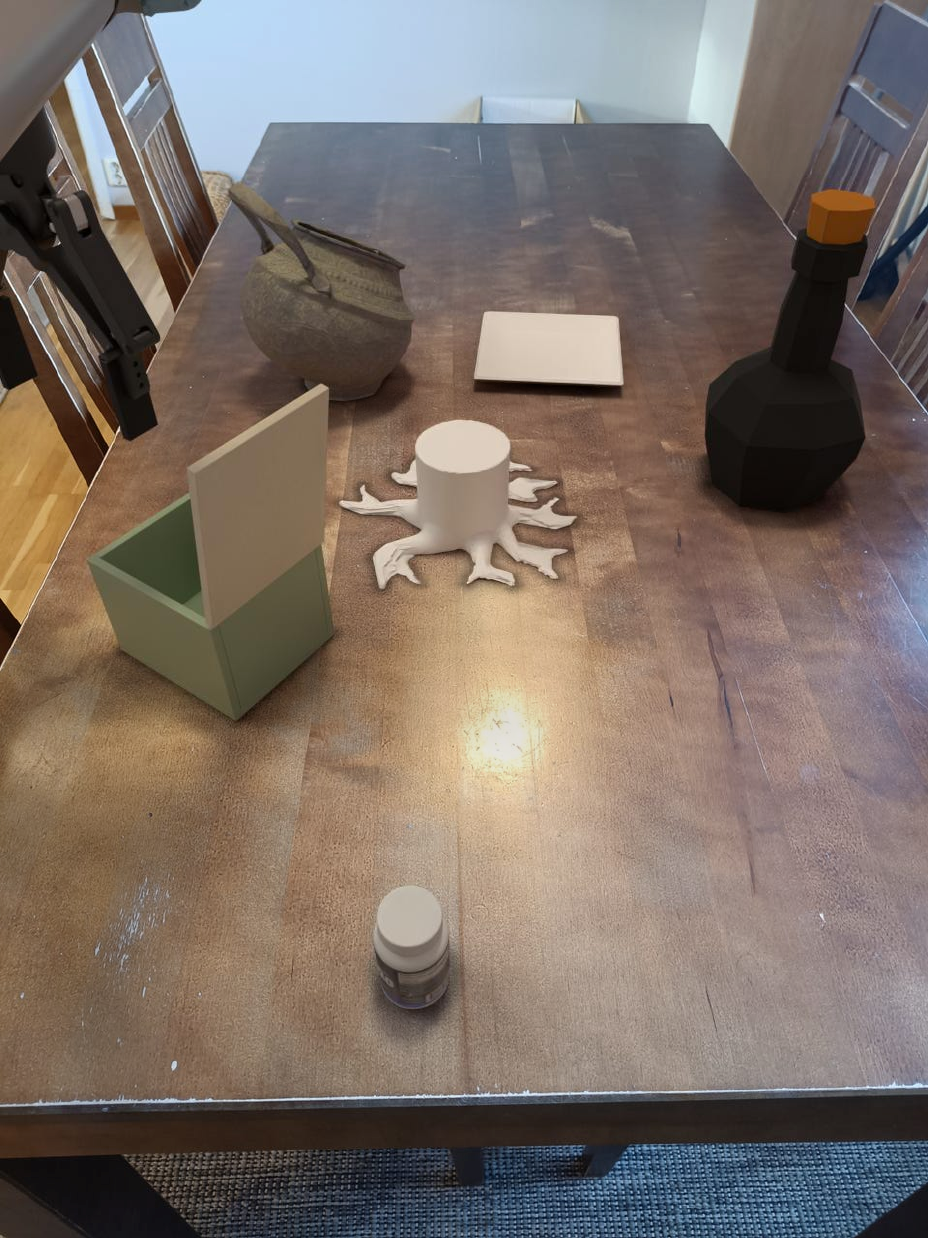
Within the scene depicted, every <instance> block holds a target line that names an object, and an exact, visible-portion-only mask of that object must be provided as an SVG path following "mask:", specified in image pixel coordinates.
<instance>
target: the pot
mask: <svg viewBox="0 0 928 1238" xmlns="http://www.w3.org/2000/svg"><path fill="white" fill-rule="evenodd" d="M227 196H228V198H229V199H230V201H231V202H232V203H233V204H234V205H235V206H236V207H237V208H238V210H239V211H240V212H241V213H242V214H243V215H244V217H245V218H246V219H247V221H248V222H249V223H250V224H251V226H252V227H253V228H254V230H255V232H256V233H257V234H258V236H259V239H260V250H261V252H262V254H260V255H256V256H254V257H253V260H252V263H251V267H250V270H249V271H248V273H247V274H246V276H245V277H244V279H243V283H242V287H241V293H240V310H241V314H242V318H243V321H244V326H245V328H246V331H247V332H248V334H249V337H250V339H251V340H252V342H253V343H254V344H255V345H256V347H257V348H258V350H260V352H261V353H262V354H263V355H264V356H265V357H267V358H268V359H269V360H270V361H271V362H272V363H274V364H275V365H277V366H278V367H280V368H281V369H283V370H285V371H287V372H288V373H289V374H291V375H294V376H296V377H299V378H301V379H303V380H304V385H305V386H306V388H307V389H308V391H310V390H311V389H313V388H314V387H316V386H318V385H319V384H323V385H325V386H326V387H328V388H329V401H339V402H346V401H352V400H353V401H354V400H360V399H364V398H366V397H370V396H374V395H375V393H377V391H378V390H379V388H380V387H381V384H382V383H383V381H384V379H385V378H386V377H387V376H388V374H390V373H391V372H392V371H393V370H394V368H395V367H396V366H397V365H398V363H399V362H400V360H401V359H402V358H403V356H404V355H405V354H406V352H407V350H408V349H409V345H410V343H411V341H412V335H413V334H412V333H413V328H412V324H413V323H414V321H415V320H416V318H415V317H416V316H415V314H414V313H413V312H412V311H411V310H410V309H409V307H408V305H407V303H406V302H405V298H404V293H403V289H402V283H401V275H400V272H401V271H404V270H405V269H406V263H404V262H402V261H401V260H399V259H398V258H396V257H394V256H392V255H390V254H389V253H387V252H386V251H385V250H382V249H379V248H375V247H374V246H371V245H369V244H368V243H366V242H363V241H361V240H358V239H355V238H353V237H349V236H345V235H341V234H339V233H335V232H333V231H331V230H328V229H326V228H324V227H321V226H319V225H317V224H314V223H312V222H305V221H303V220H301V219H298V218H296V219H291V220H290V224H291V226H292V229H291V228H290V226H289V225H288V223H287V222H286V221H285V220H284V218H283V217H282V215H281V214H280V212H278V210H276V209H275V207H273V206H271V204H269V203H268V202H267V201H266V200H265V199H264V198H262V197H261V196H260V195H258V193H256V191H254V190H253V189H251V188H250V187H249V186H247V185H245V184H244V183H242V182H241V181H239V180H238V181H237V182H235V183H234V184H233V185H231V186H230V187H229V188H228V189H227ZM262 223H263V224H265V225H266V226H267V227H268V228H269V229H271V230H272V231H273V232H274V233H275V234H276V235H277V237H278V238H279V239H280V240H281V241H282V242H280V243H277V244H274V243H273V241H272V239H271V238H270V236H269V234H268V232H267V231H266V229H265V227H264V226H263V224H262Z"/></svg>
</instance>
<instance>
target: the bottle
mask: <svg viewBox="0 0 928 1238" xmlns="http://www.w3.org/2000/svg"><path fill="white" fill-rule="evenodd" d="M875 201H876V200H875V198H874V197H871V196H868V195H865V194H862V193H859V192H856V191H849V190H841V189H834V188H830V189H826V190H823V191H822V190H821V191H819V192H815V193H812V194H811V196H810V203H809V209H808V217H807V225H806V228H802V229H798V230H797V235H796V239H795V242H794V246H793V249H792V250H793V251H792V255H791V259H790V266H791V267H790V268H791V270H793V271H795V273H794V275H793V277H792V280H791V282H790V284H789V286H788V289H787V291H786V294H785V296H784V298H783V301H782V303H781V306H780V309H779V314H778V317H777V320H776V321H777V322H776V325H775V329H774V333H773V336H772V341H771V345H770V346H769V347H767V348H765V349H762V350H760V351H757V352H755V353H752V354H750V355H747V356H745V357H742V358H739V359H737V360H734V362H733V363H732V364H731V365H730V366H728V367H727V368H726V369H725V370H724V371H723V372H722V373H721V374H719V375H718V376H717V377H716V378H715V379H714V380H713V381H712V382H711V383H709V384H708V390H707V397H706V402H705V413H704V416H705V417H704V442H705V448H706V455H707V461H708V468H709V475H710V483H711V485H712V486H713V487H714V488H715V489H717V490H718V491H720V492H721V493H722V494H724V495H725V496H726V497H727V498H729V499H730V500H731V501H733V502H734V503H735V504H737V505H738V506H740V507H746V508H752V509H759V510H766V511H772V512H779V513H787V512H790V511H792V510H795V509H798V508H800V507H802V506H806V505H807V504H811V503H813V502H816V501H818V500H821V499H822V497H823V496H824V495H825V494H826V493H827V492H828V491H829V490H830V488H832V486H833V485H834V484H835V483H836V482H837V481H838V480H839V479H840V478H841V476H842V475H843V474H844V473H845V472H846V471H847V470H848V469H849V468H850V467H851V465H852V464H854V462H856V460H857V459H858V457H859V454H860V452H861V449H862V447H863V444H864V443H865V440H866V430H865V424H864V416H863V411H862V410H863V409H862V402H861V398H860V394H859V390H858V387H857V383H856V379H855V376H854V372H853V369H852V368H850V367H847V366H845V365H843V364H841V363H840V362H838V361H836V360H834V359H832V357H833V354H834V350H835V347H836V344H837V341H838V338H839V335H840V331H841V327H842V324H843V321H844V315H845V306H846V300H847V293H848V287H849V279H851V278H857V277H859V276H860V274H861V270H862V267H863V264H864V261H865V257H866V254H867V252H868V248H869V243H868V236H867V235H866V234H865V232H866V230H867V228H868V226H869V223H870V221H871V219H872V216H873V214H874V212H875V210H876V202H875Z"/></svg>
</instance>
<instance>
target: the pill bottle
mask: <svg viewBox="0 0 928 1238" xmlns="http://www.w3.org/2000/svg"><path fill="white" fill-rule="evenodd" d="M377 907H378V908H377V911H376V921H375V924H374V928H373V932H372V942H373V949H374V954H375V961H376V968H377V974H378V980H379V985H380V987H381V991H382V992H383V994H384V996H385V997H386V998H387V999H388V1000H389V1001H390V1002H392V1004H394V1005H396V1006H398V1007H399V1008H402V1009H407V1010H419V1009H423V1008H427V1007H429V1006H431V1005H432V1004H434V1003H436V1002H437V1001H438V1000H439V999H440V998H441V997H442V996H443V994H444V993H445V991H446V990H447V988H448V984H449V981H450V976H451V975H450V974H451V961H450V959H451V957H450V930H449V925H448V922H447V919H446V916H445V915H444V913H443V909H442V906H441V903H440V901H439V900H438V898H437V897H436V896H435V894H433V893H432V892H431V891H430V890H428V889H426V888H424V887H422V886H417V885H403V886H400V887H397V888H394V889H393V890H391V891H390V892H388V893H387V894H386V895H385V896H384V897H383V899H382V900H381V901H380V903H379V905H378V906H377Z"/></svg>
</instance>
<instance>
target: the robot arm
mask: <svg viewBox="0 0 928 1238" xmlns="http://www.w3.org/2000/svg"><path fill="white" fill-rule="evenodd" d="M201 2H202V0H0V293H2V292H4V291H7V290H8V286H6V284H5V283H4V282H3V278H4V277H3V276H4V272H5V268H6V263H7V259H8V255H9V252H10V251H12V252H14V253H16V254H17V255H18V256H20V257H24V258H26V260H27V261H28V262H29V264H30V265H31V266H32V268H33V269H35V270H36V271H38V272H43V273H45V274H46V275H47V277H48V278H49V279H50V281H52V283H53V285H55V287H56V289H58V291H59V292H60V293H61V295H62V296H63V298H64V300H66V302H67V303H68V304H69V306H70V307H71V308H72V310H73V311H74V312H75V314H76V315H77V316H78V318H79V319H80V320H81V322H82V323H83V324H84V326H85V327H86V328H87V330H88V331H89V332H90V334H91V335H92V336H93V337H94V339H95V341H97V343H98V344H99V346H100V347H101V349H102V350H103V351H104V352H103V353H100V354H98V355H97V357H98V361H99V364H100V368H101V371H102V374H103V377H104V380H105V383H106V386H107V390H108V393H109V396H110V400H111V404H112V406H113V410H114V413H115V416H116V419H117V423H118V426H119V429H120V432H121V436H122V439H123V440H126V441H128V442H132V441H134V440H136V439H137V438H139V437H140V436H142V435H143V434H145V433H147V432H149V431H150V430H152V429H154V428H155V427H158V425H159V422H158V418H157V415H156V411H155V408H154V407H155V406H154V404H153V401H152V397H151V383H150V379H149V376H148V373H147V369H146V365H145V361H144V357H143V353H142V352H143V351H146V350H147V349H149V348H151V347H153V346H155V345H156V344H158V343H160V342H161V334H160V332H159V330H158V329H157V326H156V324H155V323H154V320H153V319H152V317H151V316H150V314H149V312H148V310H147V308H146V306H145V305H144V302H142V300H141V298H140V296H139V294H138V292H137V291H136V288H135V287H134V284H133V283H132V282H131V280H130V277H129V276H128V274H127V273H126V271H125V269H124V267H123V265H122V264H121V262H120V260H119V258H118V255H117V254H116V252H115V251H114V249H113V247H112V245H111V243H110V241H109V239H108V237H106V235H105V233H104V231H103V229H102V227H101V224H100V221H99V218H98V215H97V213H96V209H95V206H94V204H93V201H92V198H91V196H90V194H88V192H86V191H85V190H83V189H80V190H76V191H74V192H72V193H68V194H60V193H59V194H58V193H57V191H56V189H55V187H54V185H53V184H52V181H51V180H50V177H49V174H48V167H49V165H50V162H51V161H52V160H53V159H54V157H55V155H56V152H57V144H56V140H55V137H54V135H53V134H54V133H53V131H52V127H51V123H50V121H49V117H48V113H47V110H46V107H45V104H47V103H48V101H49V100H50V99H51V98H52V96H53V95H54V94H55V92H56V91H57V89H59V87H60V86H61V84H62V83H64V81H65V80H66V79H67V77H68V75H70V73H71V72H72V70H73V69H74V68H75V67H76V65H77V64H78V63H79V61H80V60H81V59H82V58H83V57H84V56H85V55H86V53H87V51H89V49H90V47H92V45H93V44H94V42H95V41H96V40H97V39H98V37H99V36H100V35H101V34H102V32H103V31H104V30H105V29H106V27H108V26H109V24H111V22H112V21H113V20H114V19H115V17H116V16H117V15H118V14H125V13H130V14H143V17H144V18H145V17H149V18H152V17H154V16H155V15H156V14H167V13H178V12H179V13H180V12H187V11H190V10H193V9H195V8H196V7H197V6H198V5H199V4H200V3H201ZM57 238H58V241H59V242H60V243H59V244H57V245H55V244H56V240H57ZM22 330H23V329H22V327H21V325H20V322H19V318H18V316H17V314H16V311H15V309H14V306H13V303H12V301H11V297H10V296H8V295H5V294H2V295H0V383H1V385H2V388H4V389H6V390H8V391H11V390H13V389H15V388H18V387H20V386H21V385H23V384H25V383H27V382H29V381H31V380H33V379H35V378H37V377H39V375H38V372H37V368H36V366H35V363H34V360H33V358H32V355H31V352H30V350H29V347H28V344H27V341H26V339H25V335H24V333H23V331H22Z"/></svg>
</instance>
